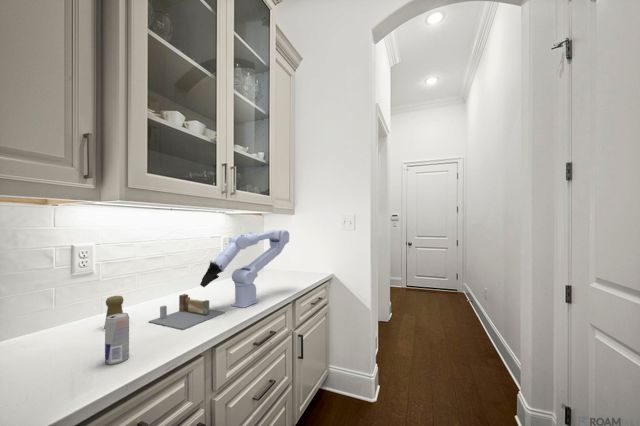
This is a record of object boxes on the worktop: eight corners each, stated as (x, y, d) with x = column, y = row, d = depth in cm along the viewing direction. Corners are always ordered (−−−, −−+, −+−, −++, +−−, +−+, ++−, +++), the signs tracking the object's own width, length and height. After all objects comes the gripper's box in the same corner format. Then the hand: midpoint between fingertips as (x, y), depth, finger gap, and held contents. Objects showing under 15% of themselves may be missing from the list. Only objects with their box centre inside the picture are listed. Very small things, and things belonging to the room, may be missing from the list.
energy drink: (113, 355, 79) (113, 313, 79) (133, 354, 79) (133, 312, 80) (99, 365, 73) (100, 319, 74) (121, 364, 74) (121, 318, 74)
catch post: (163, 318, 110) (163, 305, 110) (166, 318, 109) (166, 305, 109) (160, 319, 108) (160, 306, 108) (162, 320, 107) (162, 307, 108)
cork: (113, 330, 98) (114, 299, 98) (99, 329, 99) (99, 298, 99) (128, 324, 104) (129, 294, 104) (115, 323, 105) (115, 293, 105)
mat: (193, 307, 123) (193, 306, 123) (225, 312, 115) (225, 311, 115) (148, 322, 105) (148, 321, 105) (182, 330, 97) (182, 329, 97)
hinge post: (184, 310, 119) (184, 294, 119) (188, 311, 118) (188, 294, 118) (179, 312, 117) (179, 295, 117) (183, 313, 116) (183, 296, 116)
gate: (188, 309, 117) (188, 297, 118) (209, 313, 112) (209, 300, 112) (184, 310, 116) (184, 298, 116) (205, 314, 110) (205, 301, 111)
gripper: (215, 257, 125) (193, 282, 117) (220, 246, 113) (196, 273, 105) (228, 267, 126) (207, 292, 117) (234, 257, 114) (211, 284, 106)
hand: (202, 283), depth 111 cm, fingers open, 7 cm apart
